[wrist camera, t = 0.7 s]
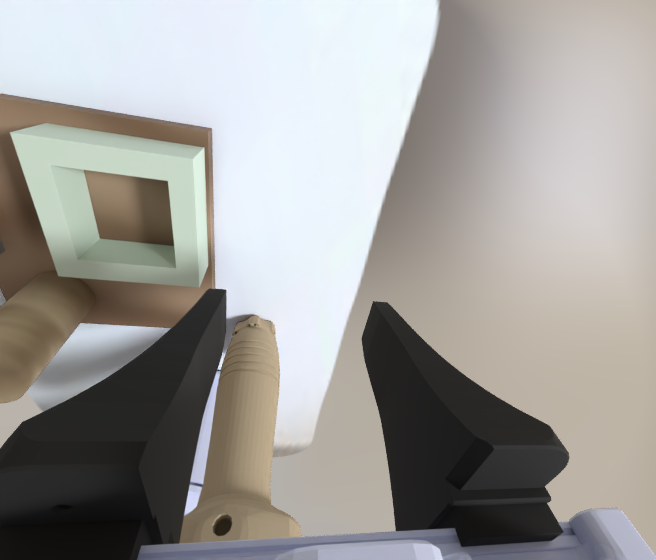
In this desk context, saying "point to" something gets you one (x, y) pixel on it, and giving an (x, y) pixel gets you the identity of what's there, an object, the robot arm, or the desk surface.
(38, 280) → the dowel
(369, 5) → the desk surface
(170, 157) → the collar block
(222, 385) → the handle
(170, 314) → the board
